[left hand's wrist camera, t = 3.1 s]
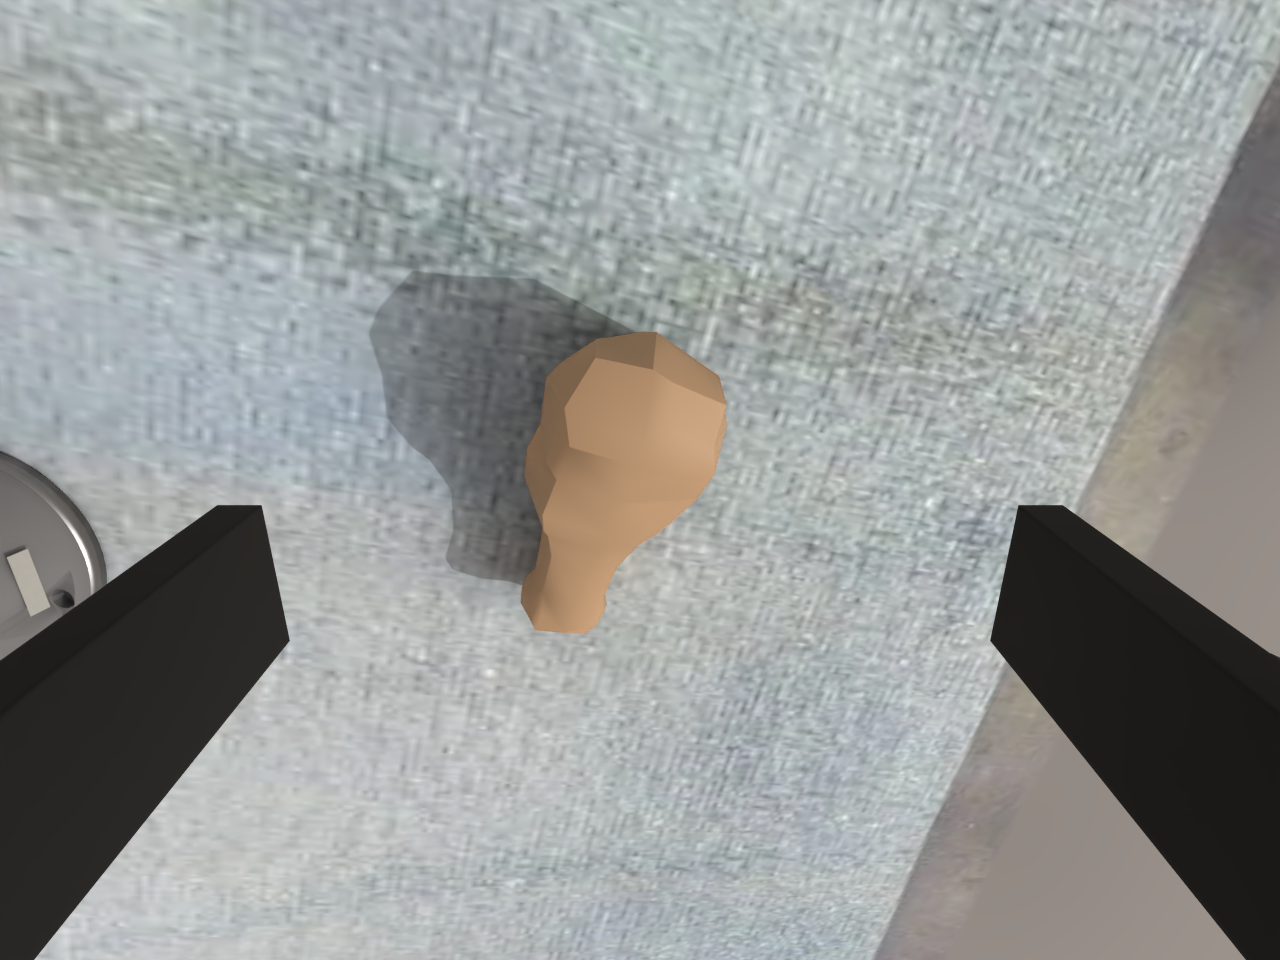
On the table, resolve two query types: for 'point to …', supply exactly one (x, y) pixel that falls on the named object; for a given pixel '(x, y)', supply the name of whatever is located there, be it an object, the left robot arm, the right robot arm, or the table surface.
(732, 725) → the table surface
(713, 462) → the squash
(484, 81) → the table surface
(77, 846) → the left robot arm
